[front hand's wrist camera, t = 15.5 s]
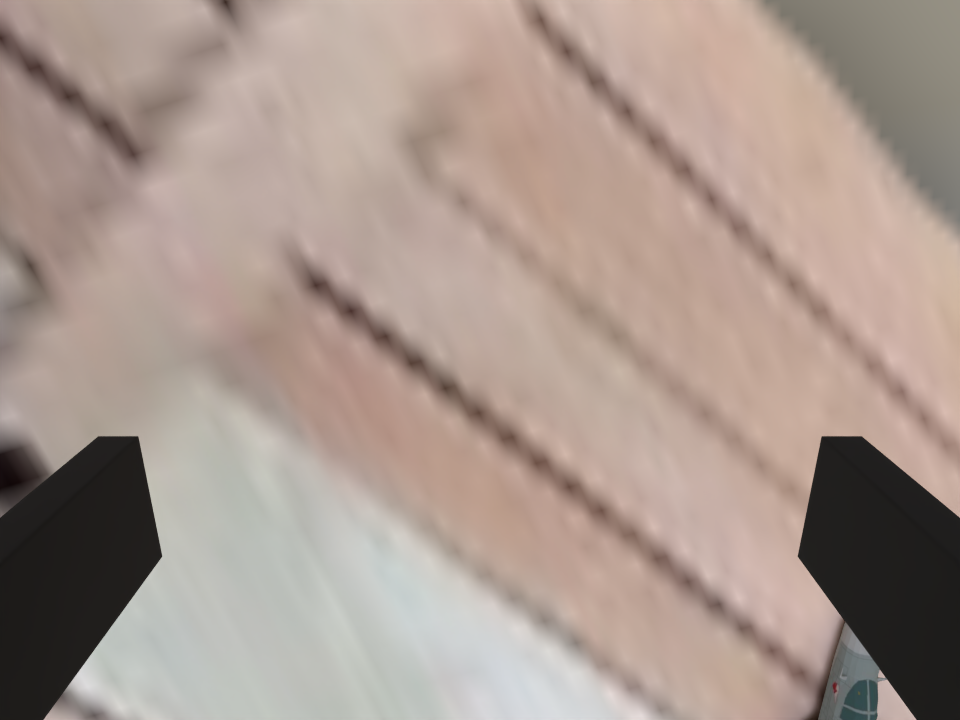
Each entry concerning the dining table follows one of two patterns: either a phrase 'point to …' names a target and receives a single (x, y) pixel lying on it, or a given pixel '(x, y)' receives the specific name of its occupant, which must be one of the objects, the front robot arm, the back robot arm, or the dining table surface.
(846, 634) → the airplane
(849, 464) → the front robot arm
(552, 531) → the dining table surface
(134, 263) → the dining table surface
